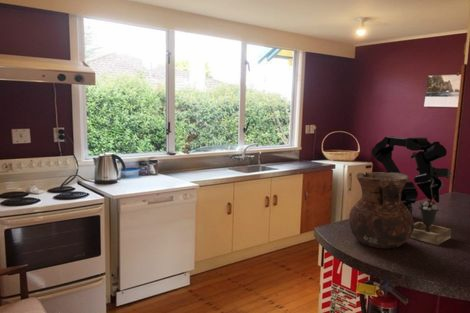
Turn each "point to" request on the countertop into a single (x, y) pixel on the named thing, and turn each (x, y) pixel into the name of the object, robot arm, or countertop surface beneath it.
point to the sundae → (428, 213)
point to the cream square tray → (434, 237)
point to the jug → (381, 211)
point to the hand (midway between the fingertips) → (434, 201)
